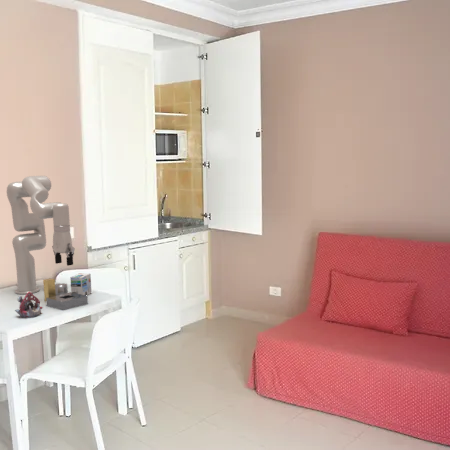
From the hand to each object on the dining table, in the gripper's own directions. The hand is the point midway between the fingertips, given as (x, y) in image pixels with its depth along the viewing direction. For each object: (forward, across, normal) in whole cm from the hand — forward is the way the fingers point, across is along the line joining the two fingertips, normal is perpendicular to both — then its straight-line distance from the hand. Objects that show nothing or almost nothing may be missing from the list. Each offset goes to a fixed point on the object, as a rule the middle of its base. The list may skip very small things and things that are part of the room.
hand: (64, 264), depth 269 cm
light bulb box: (+20, -11, +16) cm, 28 cm away
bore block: (+20, 0, 0) cm, 20 cm away
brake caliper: (+20, +2, -21) cm, 29 cm away
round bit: (+20, -19, +9) cm, 29 cm away
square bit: (+20, -15, 0) cm, 25 cm away
